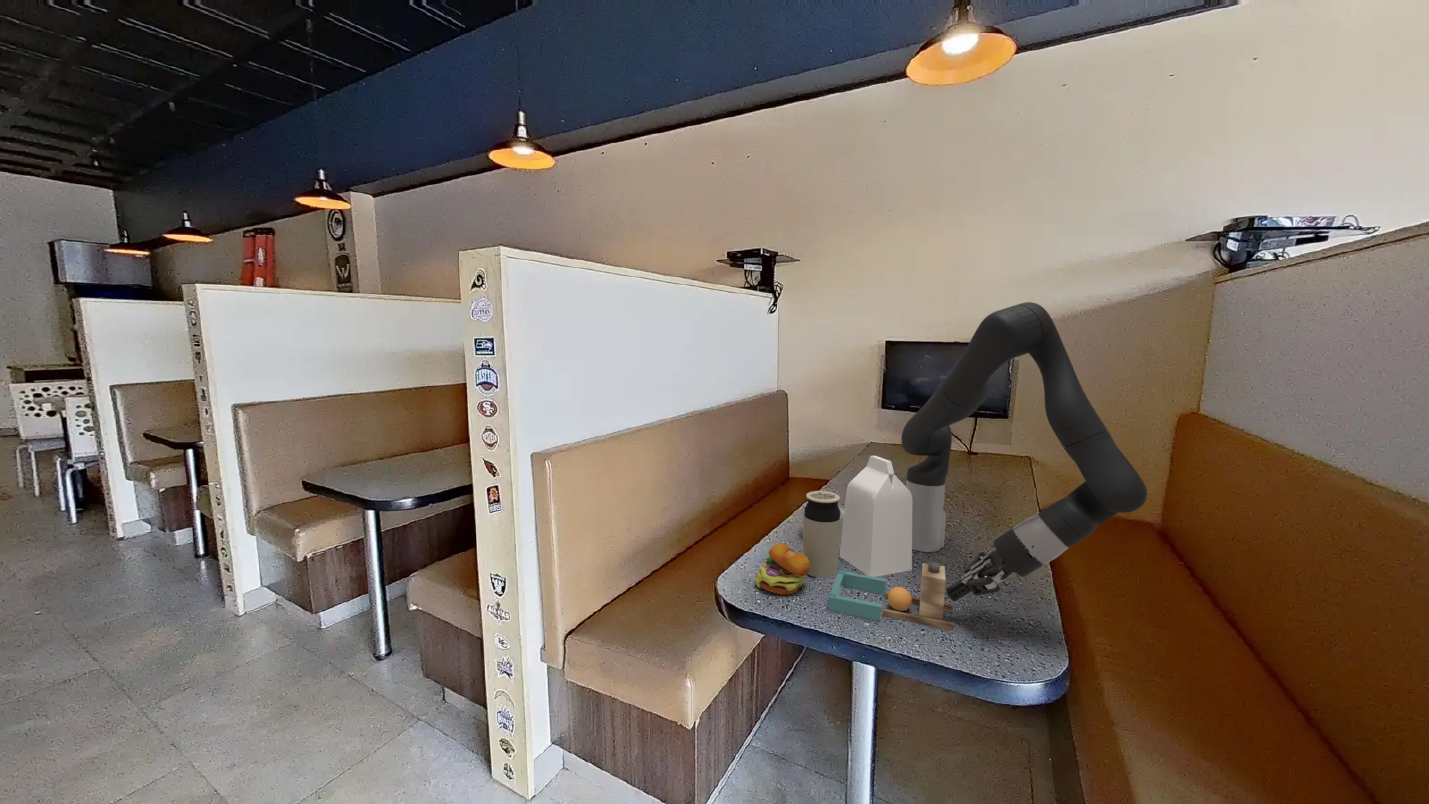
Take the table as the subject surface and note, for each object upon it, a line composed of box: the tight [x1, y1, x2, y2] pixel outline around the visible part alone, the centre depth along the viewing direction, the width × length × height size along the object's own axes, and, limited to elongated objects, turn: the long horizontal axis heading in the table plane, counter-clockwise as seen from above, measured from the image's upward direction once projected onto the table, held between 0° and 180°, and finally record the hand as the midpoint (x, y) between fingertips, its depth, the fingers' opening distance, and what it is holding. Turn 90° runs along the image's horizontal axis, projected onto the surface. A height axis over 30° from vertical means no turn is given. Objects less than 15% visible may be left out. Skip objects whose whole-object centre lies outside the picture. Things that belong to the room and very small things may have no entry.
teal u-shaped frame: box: [827, 570, 887, 622], centre depth 105 cm, size 10×12×4 cm
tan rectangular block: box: [918, 561, 947, 621], centre depth 99 cm, size 4×6×10 cm, turn 158°
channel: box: [882, 591, 955, 632], centre depth 101 cm, size 12×8×1 cm, turn 68°
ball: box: [887, 586, 912, 612], centre depth 102 cm, size 4×4×4 cm
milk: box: [839, 455, 913, 578], centre depth 121 cm, size 12×12×26 cm
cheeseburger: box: [755, 543, 810, 595], centre depth 112 cm, size 10×11×10 cm
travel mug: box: [802, 490, 841, 578], centre depth 118 cm, size 8×8×18 cm
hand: (949, 595), depth 98 cm, fingers closed
